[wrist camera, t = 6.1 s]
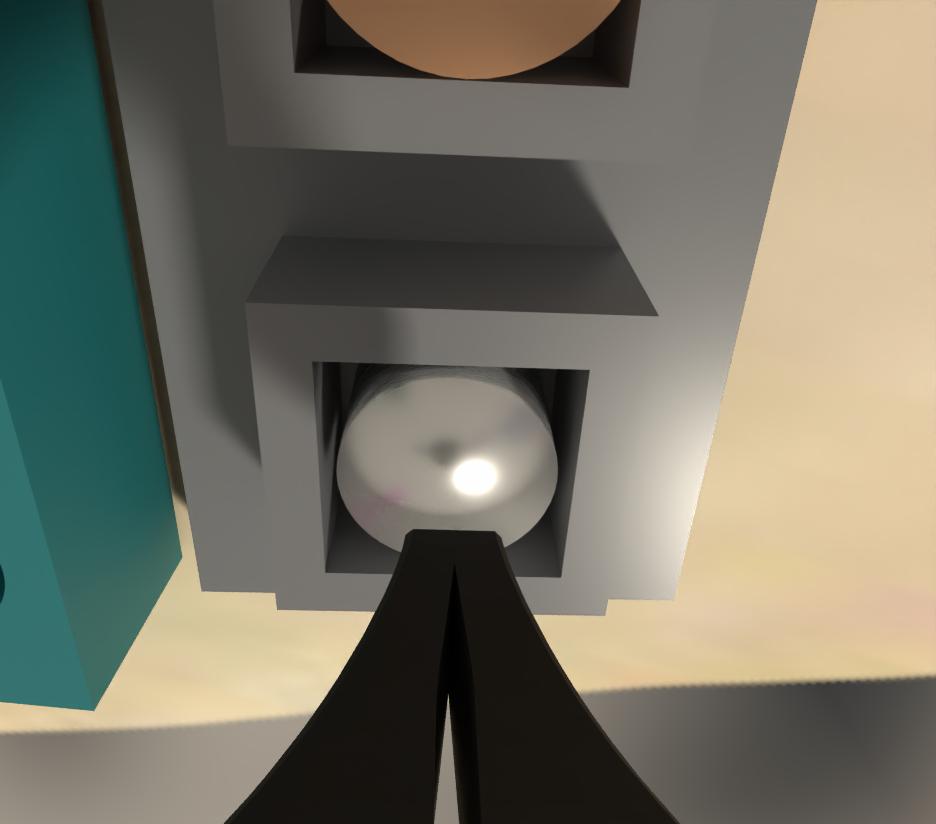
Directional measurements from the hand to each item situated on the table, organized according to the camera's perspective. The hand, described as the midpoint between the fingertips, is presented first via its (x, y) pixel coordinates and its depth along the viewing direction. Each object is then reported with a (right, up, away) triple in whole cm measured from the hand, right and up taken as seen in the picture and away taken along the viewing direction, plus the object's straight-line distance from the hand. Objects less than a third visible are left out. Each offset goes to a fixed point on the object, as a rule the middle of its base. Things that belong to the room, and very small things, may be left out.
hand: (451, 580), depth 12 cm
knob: (0, +3, +5) cm, 6 cm away
